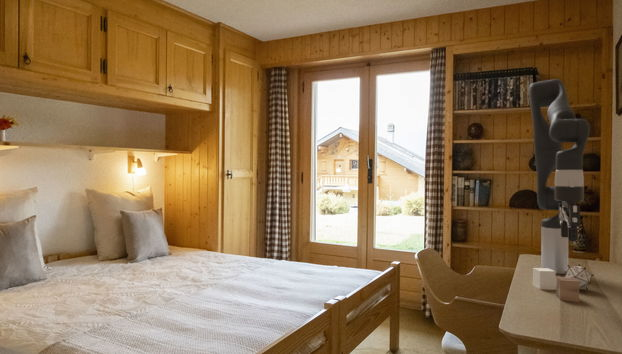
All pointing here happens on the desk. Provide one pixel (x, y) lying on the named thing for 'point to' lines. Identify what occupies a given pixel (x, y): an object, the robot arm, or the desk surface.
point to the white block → (544, 278)
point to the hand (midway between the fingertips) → (568, 239)
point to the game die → (579, 275)
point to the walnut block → (567, 289)
